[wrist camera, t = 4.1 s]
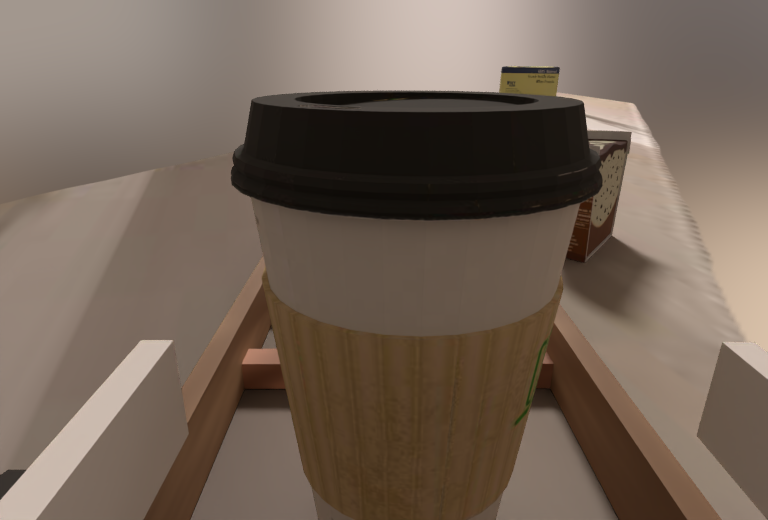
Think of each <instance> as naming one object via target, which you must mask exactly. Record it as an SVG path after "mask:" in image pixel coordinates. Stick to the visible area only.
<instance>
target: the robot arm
mask: <svg viewBox="0 0 768 520" xmlns="http://www.w3.org/2000/svg"><path fill="white" fill-rule="evenodd" d="M188 435H189V432H188V426H187V420H186V413H185V407H184V401H183V395H182V389H181V383H180V377H179V371H178V365H177V359H176V353H175V347H174V341H173V340H141V341H140V342H139V343H138V344H137V346H136V347H135V348H134V349H133V350H132V351H131V352H130V354H129V355H128V356H127V357H126V358H125V359H124V360H123V362H122V363H121V364H120V365H119V366H118V367H117V368H116V369H115V371H114V372H113V373H112V374H111V375H110V376H109V377H108V379H107V380H106V381H105V382H104V383H103V384H102V385H101V386H100V388H99V389H98V390H97V391H96V392H95V393H94V394H93V396H92V397H91V398H90V399H89V400H88V401H87V402H86V403H85V405H84V406H83V407H82V408H81V409H80V410H79V411H78V413H77V414H76V415H75V416H74V417H73V418H72V419H71V420H70V422H69V423H68V424H67V425H66V426H65V427H64V428H63V430H62V431H61V432H60V433H59V434H58V435H57V436H56V437H55V439H54V440H53V441H52V442H51V443H50V444H49V445H48V447H47V448H46V449H45V450H44V451H43V452H42V453H41V454H40V456H39V457H38V458H37V459H36V460H35V461H34V462H33V464H32V465H31V466H30V467H29V468H28V469H27V470H7V471H6V472H4V473H3V474H1V475H0V520H143V519H144V518H145V516H146V514H147V512H148V510H149V508H150V506H151V504H152V502H153V501H154V499H155V497H156V495H157V493H158V491H159V489H160V487H161V485H162V484H163V482H164V480H165V478H166V476H167V474H168V472H169V470H170V468H171V467H172V465H173V463H174V461H175V459H176V457H177V455H178V453H179V452H180V450H181V448H182V446H183V444H184V442H185V440H186V438H187V436H188ZM697 437H698V438H699V439H700V440H701V441H702V443H703V444H704V445H705V446H706V447H707V448H708V450H709V451H710V452H711V453H712V454H713V456H714V457H715V458H716V459H717V460H718V462H719V463H720V464H721V465H722V466H723V467H724V469H725V470H726V471H727V472H728V473H729V475H730V476H731V477H732V478H733V479H734V481H735V482H736V483H737V484H738V485H739V486H740V488H741V489H742V490H743V491H744V492H745V494H746V495H747V496H748V497H749V498H750V500H751V501H752V502H753V503H754V504H755V505H756V507H757V508H758V509H759V510H760V511H761V513H762V514H763V515H764V516H765V517H766V519H767V520H768V352H767V351H765V350H764V349H763V348H761V347H760V346H759V345H757V344H756V343H755V342H722V346H721V349H720V353H719V356H718V360H717V364H716V367H715V371H714V374H713V378H712V382H711V385H710V389H709V393H708V396H707V400H706V403H705V407H704V411H703V414H702V418H701V421H700V425H699V429H698V432H697Z"/></svg>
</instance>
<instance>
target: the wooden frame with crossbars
mask: <svg viewBox="0 0 768 520" xmlns="http://www.w3.org/2000/svg"><path fill="white" fill-rule="evenodd" d="M264 268H265V261H264V257H263V256H262V258H261V259H260V261H259V263H258V264H257V266H256V268H255V269H254V271H253V273H252V274H251V276H250V277H249V279H248V281H247V282H246V284H245V286H244V287H243V289H242V290H241V292H240V294H239V295H238V297H237V299H236V300H235V302H234V304H233V305H232V307H231V308H230V310H229V312H228V313H227V315H226V317H225V318H224V320H223V321H222V323H221V325H220V326H219V328H218V330H217V331H216V333H215V335H214V336H213V338H212V339H211V341H210V343H209V344H208V346H207V348H206V349H205V351H204V352H203V354H202V356H201V357H200V359H199V361H198V362H197V364H196V366H195V367H194V369H193V370H192V372H191V374H190V375H189V377H188V379H187V380H186V382H185V384H184V385H183V387H182V388H181V389H182V395H183V401H184V407H185V413H186V420H187V426H188V432H189V435H188V436H187V438H186V440H185V442H184V444H183V446H182V448H181V450H180V452H179V453H178V455H177V457H176V459H175V461H174V463H173V465H172V467H171V468H170V470H169V472H168V474H167V476H166V478H165V480H164V482H163V484H162V485H161V487H160V489H159V491H158V493H157V495H156V497H155V499H154V501H153V502H152V504H151V506H150V508H149V510H148V512H147V514H146V516H145V518H144V519H143V520H190V518H191V516H192V513H193V511H194V508H195V506H196V504H197V501H198V499H199V496H200V494H201V492H202V489H203V487H204V484H205V482H206V480H207V477H208V475H209V473H210V470H211V468H212V465H213V463H214V461H215V458H216V456H217V453H218V451H219V449H220V446H221V444H222V441H223V439H224V437H225V434H226V432H227V429H228V427H229V425H230V422H231V420H232V417H233V415H234V413H235V410H236V408H237V405H238V403H239V401H240V398H241V396H242V393H243V391H244V389H286V388H285V383H284V379H283V374H282V370H281V365H280V360H279V356H278V351H277V349H261V348H262V346H263V343H264V341H265V338H266V336H267V334H268V331H269V329H270V326H271V319H270V315H269V310H268V306H267V301H266V297H265V292H264V287H263V283H262V278H261V277H262V274H263V271H264ZM536 388H550V389H551V391H552V393H553V395H554V396H555V398H556V400H557V402H558V404H559V406H560V408H561V410H562V412H563V414H564V415H565V417H566V419H567V421H568V423H569V425H570V427H571V429H572V431H573V433H574V434H575V436H576V438H577V440H578V442H579V444H580V446H581V448H582V450H583V452H584V453H585V455H586V457H587V459H588V461H589V463H590V465H591V467H592V469H593V471H594V472H595V474H596V476H597V478H598V480H599V482H600V484H601V486H602V488H603V490H604V491H605V493H606V495H607V497H608V499H609V501H610V503H611V505H612V507H613V509H614V510H615V512H616V514H617V516H618V518H619V520H722V519H721V518H720V517H719V516H718V514H717V513H716V512H715V510H714V509H713V508H712V506H711V505H710V504H709V502H708V501H707V500H706V498H705V497H704V496H703V494H702V493H701V492H700V490H699V489H698V488H697V486H696V485H695V484H694V482H693V481H692V480H691V478H690V477H689V476H688V474H687V473H686V472H685V470H684V469H683V468H682V466H681V465H680V464H679V462H678V461H677V460H676V458H675V457H674V456H673V454H672V453H671V452H670V450H669V449H668V448H667V446H666V445H665V444H664V442H663V441H662V440H661V438H660V437H659V436H658V434H657V433H656V432H655V430H654V429H653V428H652V426H651V425H650V424H649V422H648V421H647V420H646V418H645V417H644V416H643V414H642V413H641V412H640V410H639V409H638V408H637V406H636V405H635V404H634V402H633V401H632V400H631V398H630V397H629V396H628V394H627V393H626V392H625V390H624V389H623V388H622V386H621V385H620V384H619V382H618V381H617V380H616V378H615V377H614V376H613V374H612V373H611V372H610V370H609V369H608V368H607V366H606V365H605V364H604V362H603V361H602V360H601V358H600V357H599V356H598V354H597V353H596V352H595V350H594V349H593V348H592V346H591V345H590V344H589V342H588V341H587V340H586V338H585V337H584V336H583V334H582V333H581V332H580V330H579V329H578V328H577V326H576V325H575V324H574V322H573V321H572V320H571V318H570V317H569V316H568V314H567V313H566V312H565V310H564V309H563V308H562V306H561V305H560V304H559V306H558V310H557V314H556V317H555V321H554V324H553V328H552V332H551V335H550V339H549V342H548V346H547V350H546V353H545V357H544V360H543V364H542V368H541V371H540V375H539V378H538V382H537V386H536Z"/></svg>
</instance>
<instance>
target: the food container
mask: <svg viewBox="0 0 768 520" xmlns="http://www.w3.org/2000/svg"><path fill="white" fill-rule="evenodd" d="M587 133H588V141H589V148H591V149H593V150H594V151H596V152H597V153H598V155H599V156H600V159H601V163H602V166H601V167H600V169H599V171H600V173H601V175H602V179H603V181H602V185H603V186H602V188H601V190H600V191H599V193H598V194H597V195H595V196H593V197H591V198H589V199H588V200H586V201H584V202H582V203H580V206H579V210H578V214H577V217H576V221H575V225H574V228H573V232H572V236H571V239H570V243H569V247H568V250H567V254H566V258H568V259H572V260H575V261H579V262H583V263H585V262H586V261H587V260H588V259H589V258H590V257H591V256H592V255H593V254H594V253H595V252H596V251H597V250H598V249H599V248H600V247H601V246H602V245H603V244H604V243H605V242H606V241H607V240H608V239H609V238H610V237H611V236H612V232H613V227H614V222H615V217H616V211H617V206H618V201H619V196H620V191H621V185H622V180H623V175H624V170H625V165H626V160H627V154H629V150H630V143H631V133H632V132H624V131H587Z"/></svg>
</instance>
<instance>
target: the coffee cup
mask: <svg viewBox="0 0 768 520" xmlns="http://www.w3.org/2000/svg"><path fill="white" fill-rule="evenodd" d="M233 163H234V166H233V167H232V170H231V175H232V176H231V182H232V185H233V186H234V187H235V188H236V189H237V190H239V191H240V192H241V193H242V194H245V195H247V196H249V197H251V200H252V205H253V210H254V214H255V219H256V224H257V228H258V233H259V238H260V243H261V247H262V252H263V257H264V261H265V268H264V271H263V274H262V277H261V278H262V283H263V287H264V292H265V297H266V301H267V306H268V310H269V315H270V319H271V324H272V328H273V333H274V338H275V342H276V347H277V351H278V356H279V360H280V365H281V370H282V374H283V379H284V383H285V388H286V392H287V397H288V402H289V406H290V411H291V415H292V420H293V424H294V429H295V434H296V438H297V443H298V447H299V452H300V456H301V461H302V466H303V470H304V473H305V475H306V477H307V479H308V481H309V483H310V485H311V486H312V491H313V496H314V501H315V506H316V510H317V515H318V520H496V516H497V512H498V509H499V505H500V501H501V497H502V494H503V491H504V490H505V488H506V487H507V485H508V482H509V480H510V477H511V475H512V472H513V469H514V465H515V461H516V458H517V454H518V451H519V447H520V443H521V440H522V436H523V433H524V429H525V425H526V422H527V418H528V415H529V411H530V407H531V404H532V400H533V397H534V393H535V389H536V386H537V382H538V378H539V375H540V371H541V368H542V364H543V360H544V357H545V353H546V350H547V346H548V342H549V339H550V335H551V332H552V328H553V324H554V321H555V317H556V314H557V310H558V306H559V303H560V299H561V296H562V292H563V282H562V277H561V273H562V269H563V265H564V262H565V258H566V254H567V250H568V247H569V243H570V239H571V236H572V232H573V228H574V225H575V221H576V217H577V214H578V210H579V206H580V203H582V202H584V201H586V200H588V199H589V198H591V197H593V196H595V195H597V194H598V193H599V191H600V190H601V188H602V186H603V185H602V181H603V179H602V175H601V173H600V171H599V169H600V167H601V166H602V163H601V159H600V156H599V155H598V153H597V152H596V151H594V150H593V149H591V148H589V141H588V133H587V125H586V117H585V109H584V103H583V102H582V101H581V100H577V99H572V98H565V97H556V96H546V95H532V94H516V93H494V92H463V91H337V92H311V93H294V94H281V95H271V96H264V97H258V98H255V99H253V100H252V101H251V107H250V114H249V119H248V126H247V132H246V138H245V143H244V144H243V145H241V146H239V147H238V148H237V149H236V150H235V151H234V154H233Z"/></svg>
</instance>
